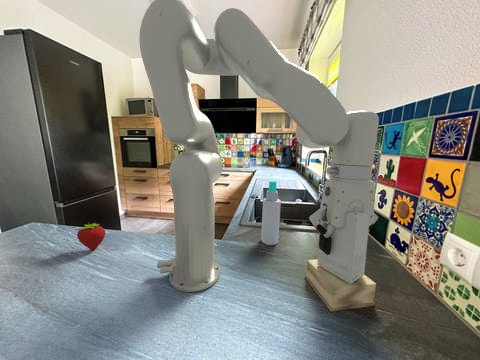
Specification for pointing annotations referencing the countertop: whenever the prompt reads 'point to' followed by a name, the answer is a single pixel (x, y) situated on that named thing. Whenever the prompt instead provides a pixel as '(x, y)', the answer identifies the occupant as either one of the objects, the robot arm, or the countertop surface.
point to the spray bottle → (271, 216)
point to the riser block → (340, 288)
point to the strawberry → (91, 235)
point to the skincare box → (347, 248)
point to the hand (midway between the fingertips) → (340, 250)
